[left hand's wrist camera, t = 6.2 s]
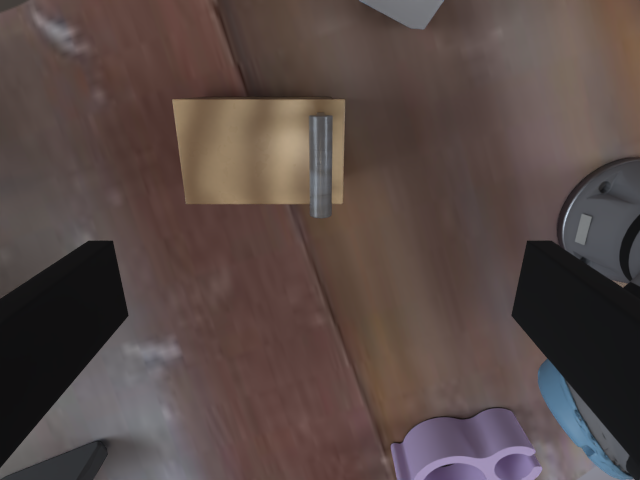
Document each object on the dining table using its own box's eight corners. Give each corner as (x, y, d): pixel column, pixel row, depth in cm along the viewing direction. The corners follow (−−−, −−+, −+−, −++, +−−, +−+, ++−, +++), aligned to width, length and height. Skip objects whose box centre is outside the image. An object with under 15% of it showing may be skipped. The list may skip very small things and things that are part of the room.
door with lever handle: (344, 98, 36) (351, 101, 28) (342, 200, 39) (348, 229, 31) (176, 98, 36) (134, 101, 28) (189, 201, 39) (156, 230, 31)
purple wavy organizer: (504, 392, 59) (527, 429, 53) (526, 446, 63) (549, 487, 57) (384, 435, 63) (391, 475, 56) (411, 484, 67) (421, 526, 60)
